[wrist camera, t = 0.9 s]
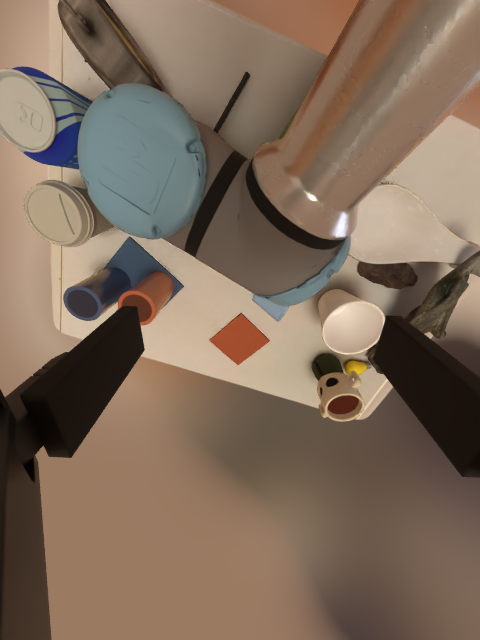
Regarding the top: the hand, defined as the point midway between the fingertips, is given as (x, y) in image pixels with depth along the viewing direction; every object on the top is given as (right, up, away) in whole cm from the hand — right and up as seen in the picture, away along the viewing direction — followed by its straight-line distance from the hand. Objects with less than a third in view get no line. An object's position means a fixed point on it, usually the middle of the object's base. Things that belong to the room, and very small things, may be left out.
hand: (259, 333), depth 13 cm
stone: (+27, +12, +31) cm, 42 cm away
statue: (+29, -9, +41) cm, 51 cm away
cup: (+18, +4, +36) cm, 41 cm away
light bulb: (+25, -8, +42) cm, 49 cm away
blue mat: (-21, +8, +36) cm, 43 cm away
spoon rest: (+27, +16, +30) cm, 43 cm away
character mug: (+18, -9, +43) cm, 48 cm away
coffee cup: (-25, +20, +30) cm, 44 cm away
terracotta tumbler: (-17, +7, +36) cm, 40 cm away
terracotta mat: (-1, -4, +41) cm, 41 cm away
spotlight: (+5, +7, +36) cm, 37 cm away
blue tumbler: (-26, +8, +36) cm, 45 cm away
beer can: (-22, +29, +26) cm, 45 cm away
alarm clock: (-16, +35, +22) cm, 45 cm away
